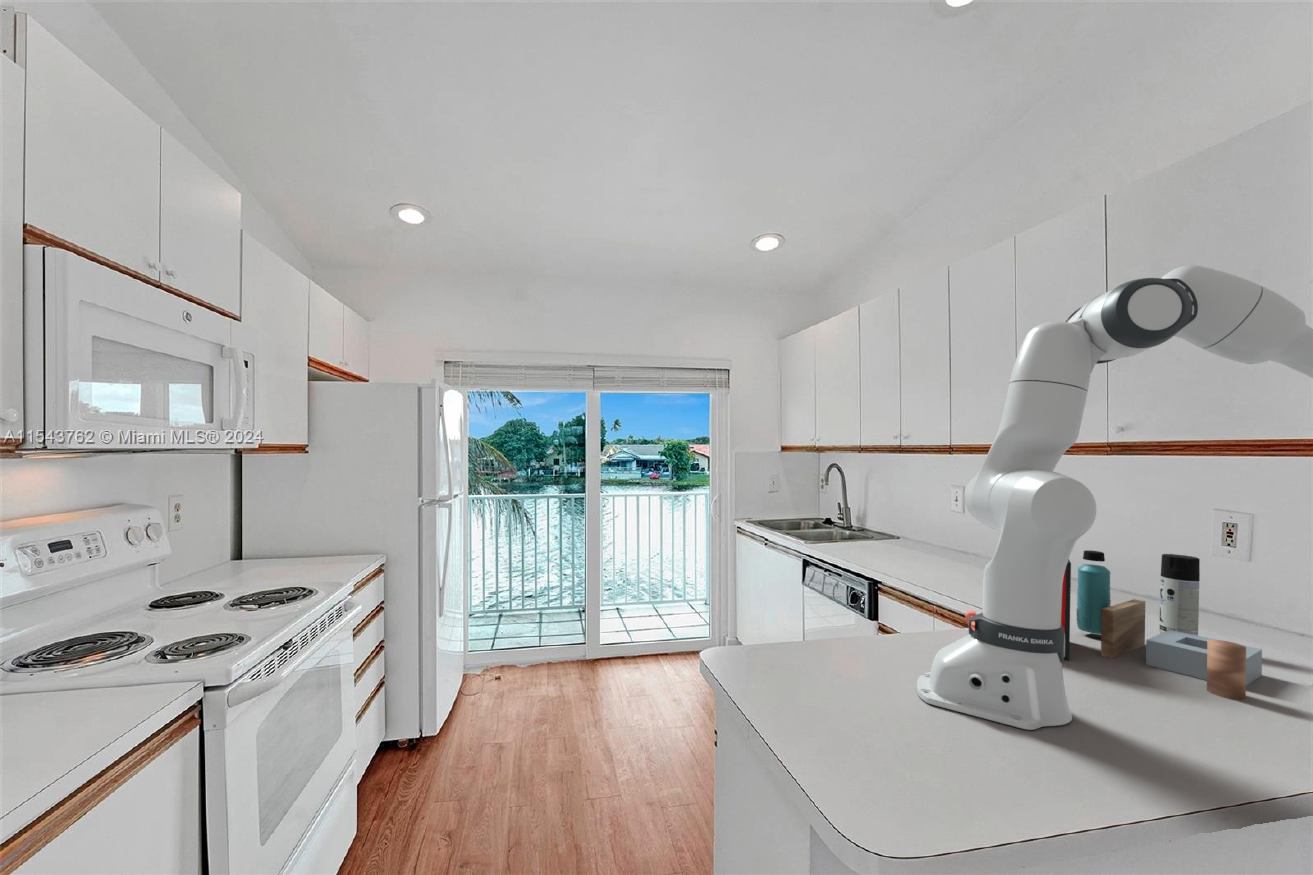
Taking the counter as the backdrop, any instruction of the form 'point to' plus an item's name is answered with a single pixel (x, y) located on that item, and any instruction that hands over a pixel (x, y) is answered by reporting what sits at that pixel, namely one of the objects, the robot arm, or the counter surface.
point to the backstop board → (1122, 628)
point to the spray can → (1179, 594)
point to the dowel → (1226, 669)
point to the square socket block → (1192, 655)
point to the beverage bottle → (1092, 593)
